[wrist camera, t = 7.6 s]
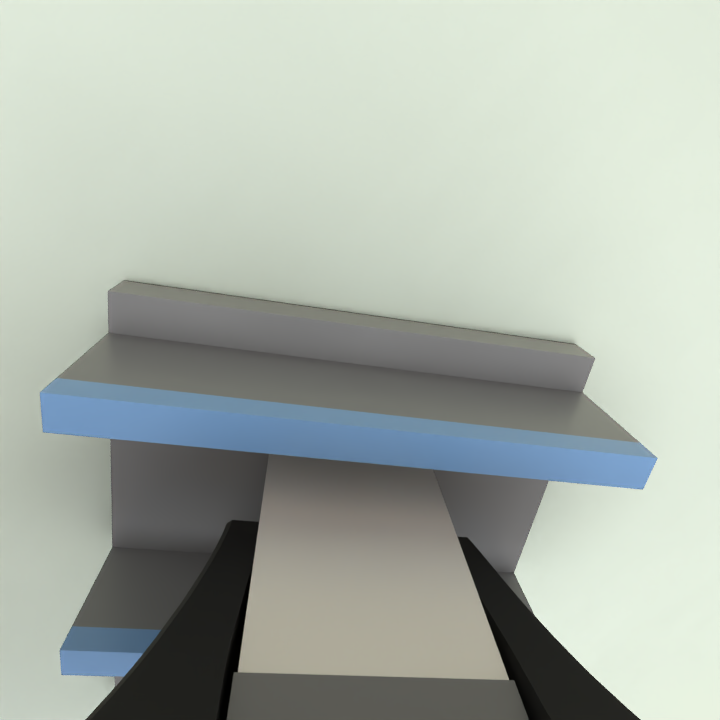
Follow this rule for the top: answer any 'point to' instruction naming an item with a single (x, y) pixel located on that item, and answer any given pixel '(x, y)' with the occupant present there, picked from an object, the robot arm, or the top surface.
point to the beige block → (364, 603)
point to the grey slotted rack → (307, 434)
